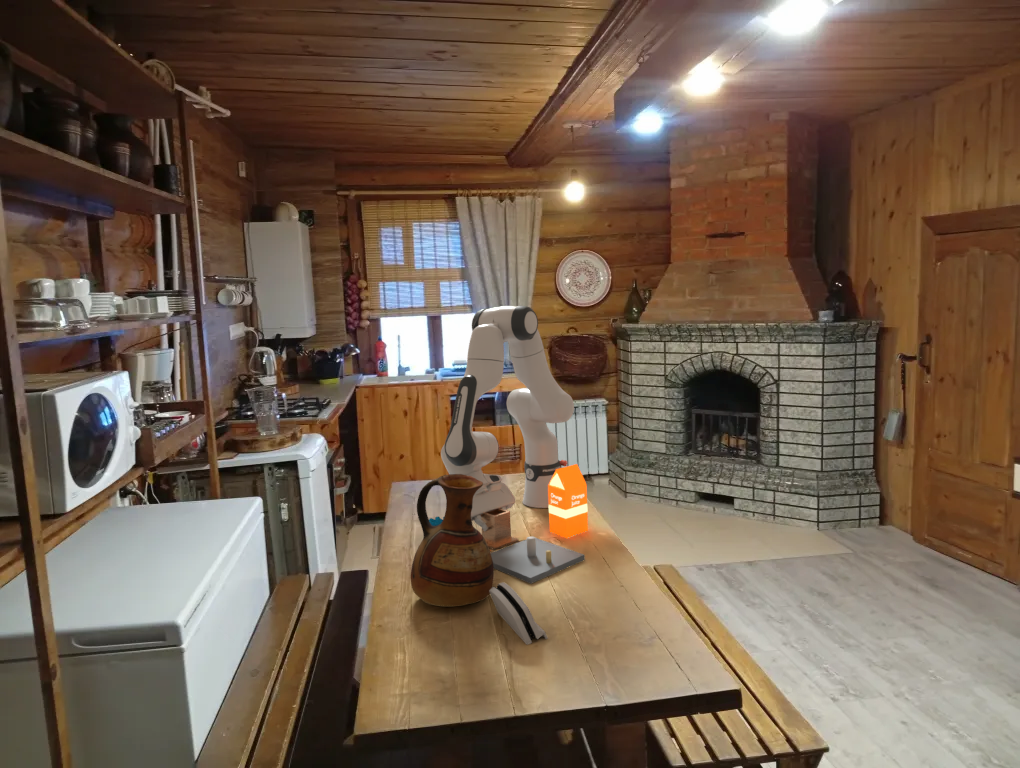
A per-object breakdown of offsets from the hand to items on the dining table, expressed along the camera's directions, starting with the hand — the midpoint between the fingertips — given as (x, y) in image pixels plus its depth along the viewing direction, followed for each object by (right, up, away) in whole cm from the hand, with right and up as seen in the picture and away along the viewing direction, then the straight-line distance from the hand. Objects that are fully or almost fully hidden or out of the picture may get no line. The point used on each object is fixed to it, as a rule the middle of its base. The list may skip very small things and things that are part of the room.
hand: (497, 526), depth 201 cm
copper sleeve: (0, -5, +1) cm, 5 cm away
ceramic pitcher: (-10, -11, -34) cm, 37 cm away
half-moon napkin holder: (+5, -12, -49) cm, 51 cm away
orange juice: (+21, -3, +7) cm, 23 cm away
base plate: (+10, -7, -14) cm, 18 cm away
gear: (-17, -5, +7) cm, 19 cm away
